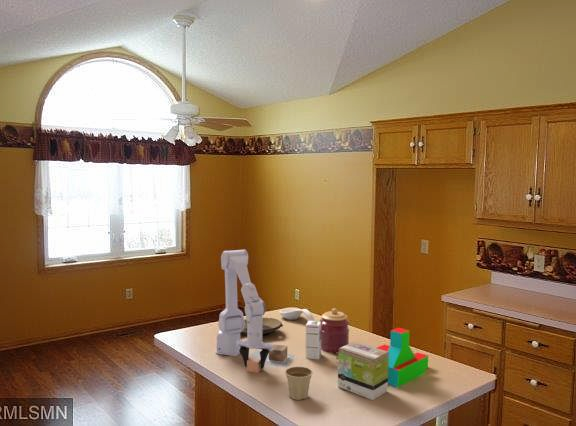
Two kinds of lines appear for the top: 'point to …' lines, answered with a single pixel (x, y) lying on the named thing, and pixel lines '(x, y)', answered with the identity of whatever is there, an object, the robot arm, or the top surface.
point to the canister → (334, 331)
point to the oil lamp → (266, 325)
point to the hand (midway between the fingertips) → (254, 366)
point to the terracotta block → (254, 364)
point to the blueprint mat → (274, 363)
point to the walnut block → (278, 353)
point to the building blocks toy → (403, 359)
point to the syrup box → (313, 339)
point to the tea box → (363, 370)
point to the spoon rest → (296, 314)
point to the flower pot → (298, 382)
